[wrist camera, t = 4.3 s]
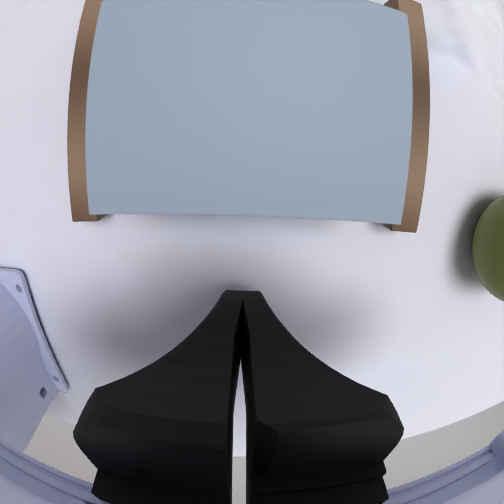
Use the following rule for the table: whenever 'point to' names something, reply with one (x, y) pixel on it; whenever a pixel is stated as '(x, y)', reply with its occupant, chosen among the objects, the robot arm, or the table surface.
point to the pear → (490, 248)
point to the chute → (420, 114)
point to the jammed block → (250, 109)
